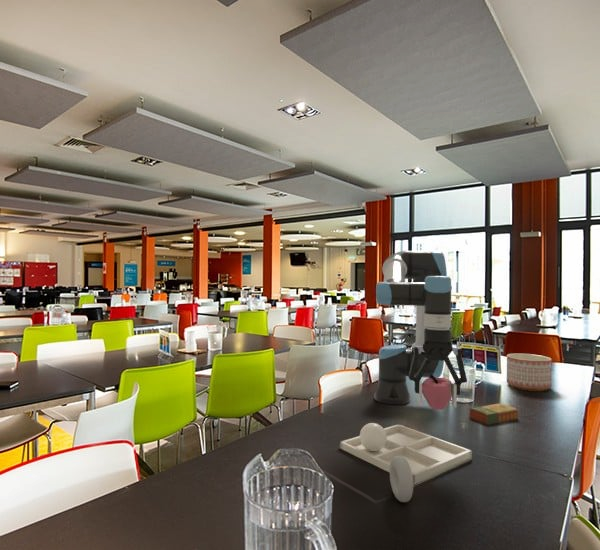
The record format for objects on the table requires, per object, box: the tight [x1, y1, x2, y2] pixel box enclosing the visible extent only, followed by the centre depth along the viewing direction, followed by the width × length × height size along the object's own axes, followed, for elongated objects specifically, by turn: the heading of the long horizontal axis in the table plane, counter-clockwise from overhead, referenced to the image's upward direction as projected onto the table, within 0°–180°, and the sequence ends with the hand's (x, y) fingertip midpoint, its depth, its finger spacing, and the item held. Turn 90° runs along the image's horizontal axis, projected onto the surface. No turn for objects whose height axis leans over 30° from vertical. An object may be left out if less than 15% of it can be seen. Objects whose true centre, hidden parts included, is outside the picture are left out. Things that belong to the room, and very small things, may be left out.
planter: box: [506, 353, 553, 392], centre depth 205 cm, size 19×19×15 cm
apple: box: [422, 375, 453, 411], centre depth 123 cm, size 10×9×10 cm
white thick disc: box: [389, 455, 414, 503], centre depth 99 cm, size 10×4×10 cm, turn 5°
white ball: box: [359, 422, 387, 452], centre depth 125 cm, size 8×8×8 cm
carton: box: [469, 402, 519, 425], centre depth 158 cm, size 8×16×4 cm, turn 114°
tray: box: [339, 423, 473, 486], centre depth 124 cm, size 27×27×2 cm
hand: (436, 405), depth 123 cm, fingers closed on apple, 9 cm apart
